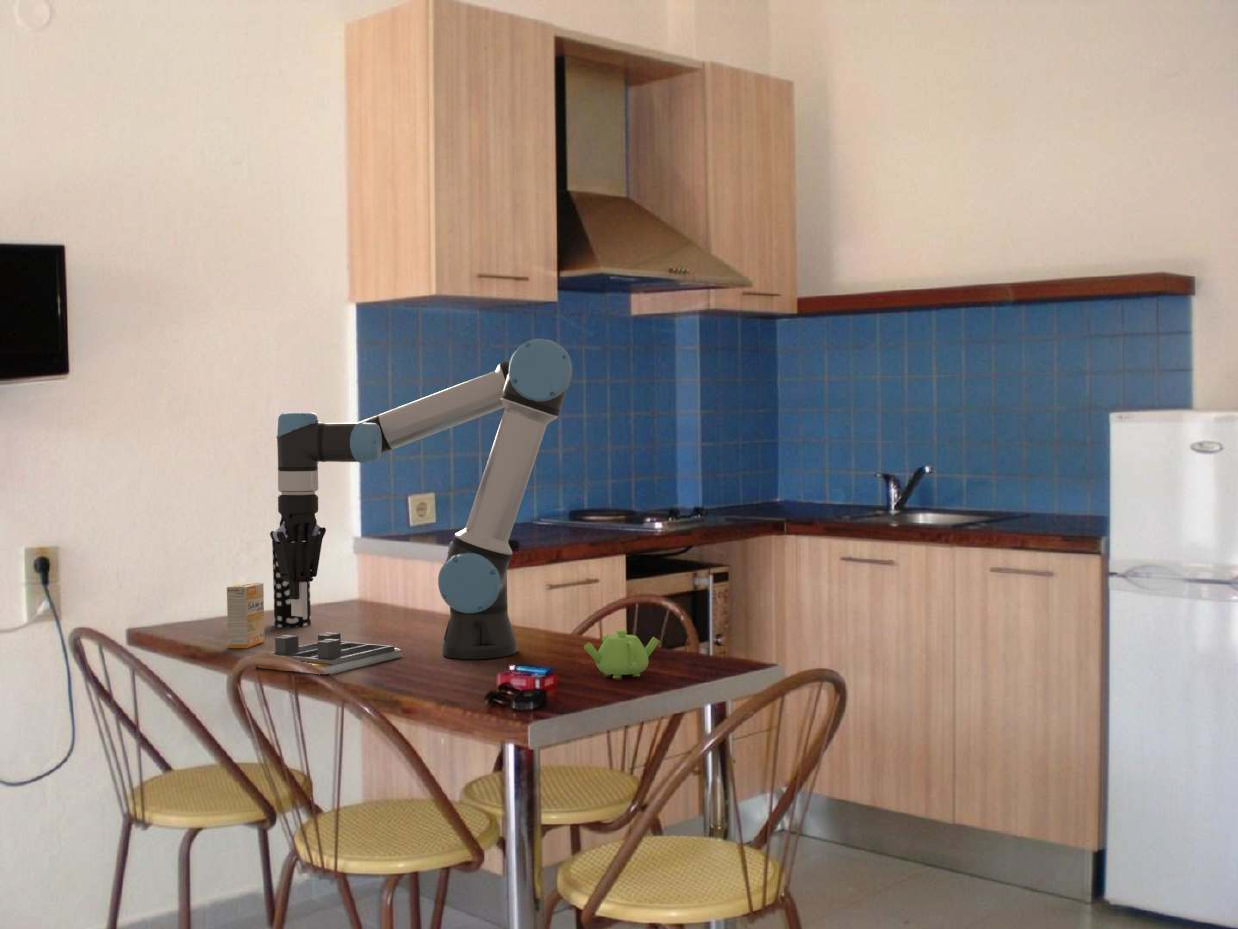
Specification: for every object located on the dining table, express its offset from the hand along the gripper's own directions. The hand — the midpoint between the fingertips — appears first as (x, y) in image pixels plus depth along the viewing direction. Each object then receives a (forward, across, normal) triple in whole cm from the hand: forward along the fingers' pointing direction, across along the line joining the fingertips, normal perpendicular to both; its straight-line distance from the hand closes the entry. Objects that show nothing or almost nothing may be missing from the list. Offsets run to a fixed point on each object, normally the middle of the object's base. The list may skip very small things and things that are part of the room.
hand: (299, 615), depth 265 cm
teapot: (+10, -21, +60) cm, 64 cm away
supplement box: (+11, -16, -30) cm, 36 cm away
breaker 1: (+9, -2, -5) cm, 10 cm away
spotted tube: (+11, -42, -42) cm, 61 cm away
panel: (+10, -8, 0) cm, 13 cm away
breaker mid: (+9, -8, 0) cm, 12 cm away
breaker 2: (+9, -2, +6) cm, 11 cm away
